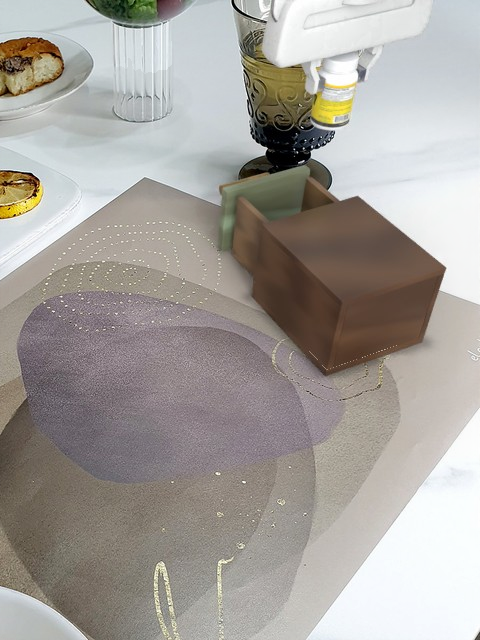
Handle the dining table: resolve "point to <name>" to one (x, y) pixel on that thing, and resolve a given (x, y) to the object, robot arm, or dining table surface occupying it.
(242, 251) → the drawer
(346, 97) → the supplement bottle
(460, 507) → the dining table surface
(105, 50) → the dining table surface
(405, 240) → the cabinet
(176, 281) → the dining table surface
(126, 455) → the dining table surface
